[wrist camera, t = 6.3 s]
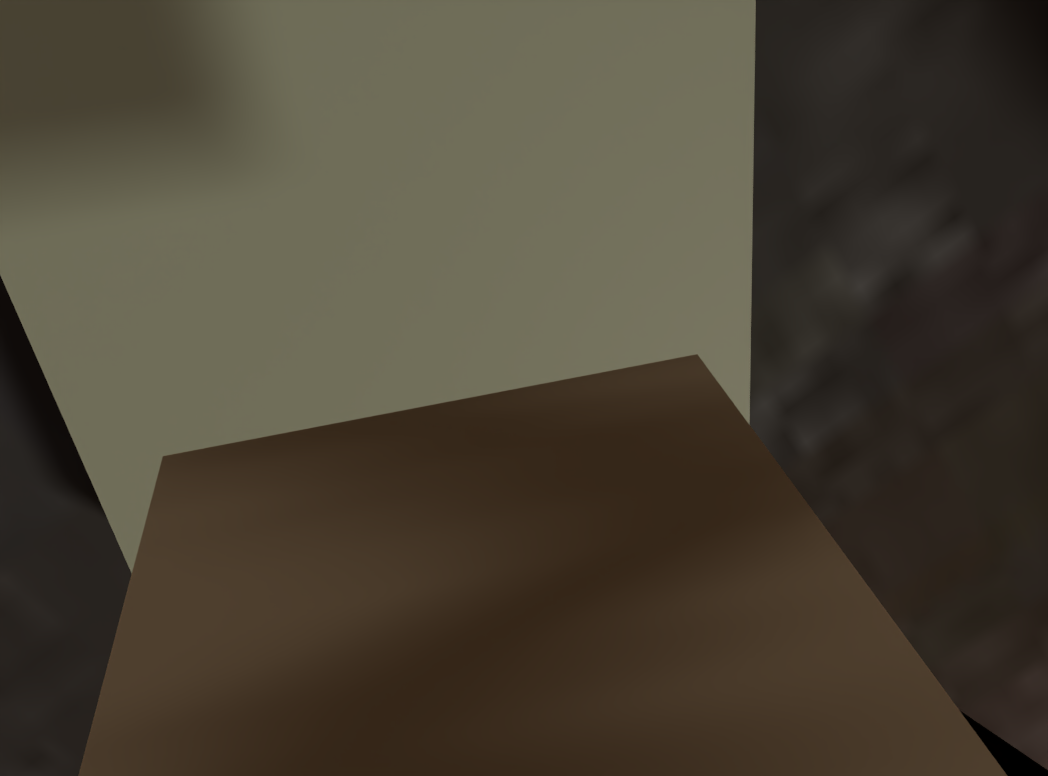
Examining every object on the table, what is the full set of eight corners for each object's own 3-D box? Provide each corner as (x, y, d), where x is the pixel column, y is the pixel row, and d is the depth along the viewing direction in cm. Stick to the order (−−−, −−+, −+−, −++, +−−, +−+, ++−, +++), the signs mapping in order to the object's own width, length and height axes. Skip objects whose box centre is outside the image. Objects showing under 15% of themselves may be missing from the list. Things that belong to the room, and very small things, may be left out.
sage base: (687, -122, 16) (757, -116, 13) (699, 450, 22) (748, 529, 20) (-41, -19, 15) (-117, 9, 12) (185, 555, 21) (167, 654, 18)
